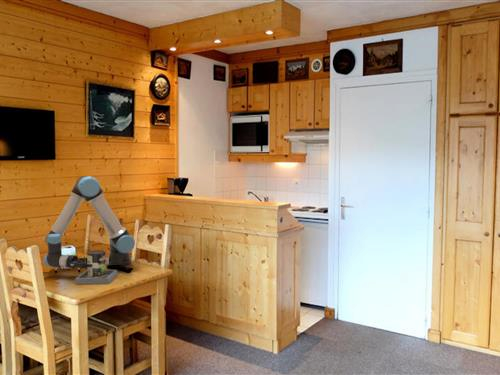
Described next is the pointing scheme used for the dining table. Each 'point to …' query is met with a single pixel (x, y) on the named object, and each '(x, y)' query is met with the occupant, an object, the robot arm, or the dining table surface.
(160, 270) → the dining table surface
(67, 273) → the dining table surface
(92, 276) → the coffee can
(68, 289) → the dining table surface
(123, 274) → the dining table surface
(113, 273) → the tray
